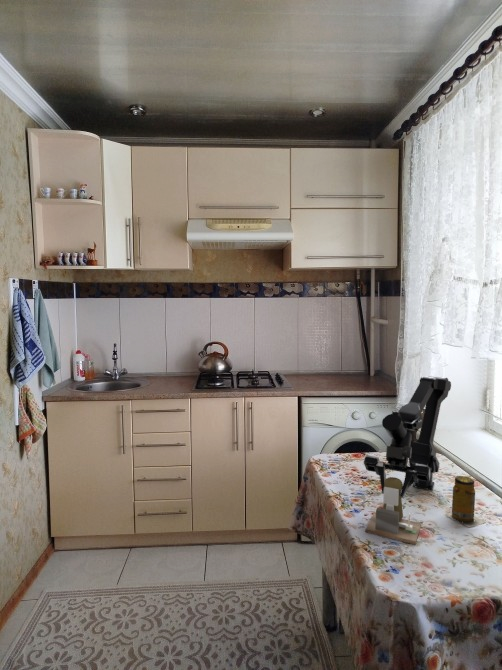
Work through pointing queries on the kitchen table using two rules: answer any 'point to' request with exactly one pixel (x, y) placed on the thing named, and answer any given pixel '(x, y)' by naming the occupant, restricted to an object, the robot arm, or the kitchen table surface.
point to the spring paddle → (392, 501)
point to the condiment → (464, 502)
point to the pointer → (409, 525)
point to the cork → (397, 484)
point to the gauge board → (393, 536)
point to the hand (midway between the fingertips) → (392, 495)
